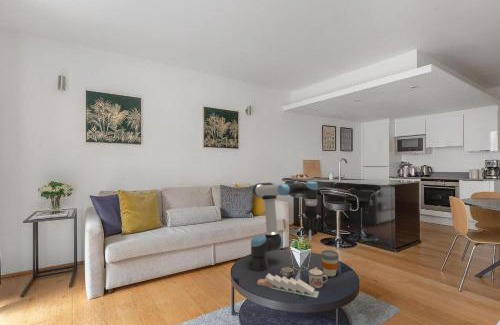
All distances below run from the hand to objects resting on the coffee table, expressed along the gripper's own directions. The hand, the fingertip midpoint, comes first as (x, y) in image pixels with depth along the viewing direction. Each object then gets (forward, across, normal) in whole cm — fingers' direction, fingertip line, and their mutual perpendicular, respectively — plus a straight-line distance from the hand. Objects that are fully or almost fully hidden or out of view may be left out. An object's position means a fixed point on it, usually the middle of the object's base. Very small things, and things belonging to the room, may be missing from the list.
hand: (310, 240), depth 175 cm
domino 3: (+29, -10, -12) cm, 33 cm away
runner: (+30, -7, -12) cm, 33 cm away
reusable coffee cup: (+30, +10, +23) cm, 39 cm away
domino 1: (+29, -20, -13) cm, 37 cm away
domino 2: (+29, -15, -12) cm, 35 cm away
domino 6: (+28, +5, -12) cm, 31 cm away
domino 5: (+28, 0, -12) cm, 31 cm away
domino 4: (+28, -5, -12) cm, 31 cm away
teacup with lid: (+30, +6, +1) cm, 31 cm away
